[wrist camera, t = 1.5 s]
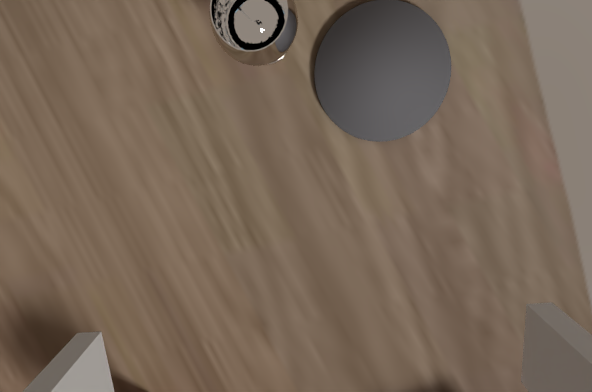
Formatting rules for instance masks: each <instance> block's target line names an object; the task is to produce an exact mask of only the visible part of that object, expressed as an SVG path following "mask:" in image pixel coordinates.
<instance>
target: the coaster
mask: <svg viewBox="0 0 592 392" xmlns="http://www.w3.org/2000/svg"><path fill="white" fill-rule="evenodd" d="M450 76H451V57H450V52H449V47H448V44H447V41H446V39H445V37H444V35H443V33H442V31H441V29H440V28H439V26H438V25H437V23H436V22H435V21H434V20H433V19H432V18H431V17H430V16H429V15H428V14H426V13H425V12H424V11H423V10H421V9H419V8H418V7H416V6H414V5H412V4H409V3H407V2H403V1H399V0H375V1H370V2H367V3H364V4H361V5H359V6H357V7H355V8H353V9H351V10H350V11H348V12H346V13H345V14H344V15H343V16H341V17H340V18H339V19H338V20H337V21H336V22H335V23H334V24H333V26H332V27H331V28H330V29H329V31H328V32H327V34H326V35H325V37H324V39H323V41H322V43H321V45H320V48H319V51H318V54H317V58H316V62H315V86H316V91H317V95H318V98H319V101H320V103H321V105H322V107H323V109H324V111H325V112H326V114H327V115H328V116H329V118H330V119H331V120H332V121H333V122H334V123H335V124H336V125H337V126H338V127H340V128H341V129H342V130H344V131H345V132H347V133H349V134H350V135H352V136H355V137H357V138H360V139H364V140H368V141H390V140H395V139H399V138H402V137H404V136H407V135H409V134H411V133H413V132H414V131H416V130H418V129H419V128H420V127H422V126H423V125H424V124H426V123H427V122H428V121H429V120H430V119H431V118H432V116H433V115H434V114H435V113H436V111H437V110H438V108H439V107H440V105H441V103H442V102H443V99H444V97H445V95H446V92H447V89H448V86H449V82H450Z"/></svg>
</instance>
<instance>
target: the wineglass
mask: <svg viewBox="0 0 592 392" xmlns="http://www.w3.org/2000/svg"><path fill="white" fill-rule="evenodd" d="M209 16H210V23H211V28H212V31H213V34H214V36H215V38H216V40H217V42H218V43H219V45H220V46H221V48H222V49H223V50H224V51H225V52H226V53H227V54H228V55H229V56H230V57H232V58H233V59H235V60H237V61H239V62H241V63H243V64H247V65H253V66H261V65H267V64H273V63H276V62H278V61H279V60H281V59H282V58H283V57H284V56H285V55H286V53H287V51H288V50H289V48H290V47H291V45H292V43H293V41H294V39H295V36H296V33H297V27H298V14H297V8H296V4H295V2H294V0H211V1H210V9H209Z"/></svg>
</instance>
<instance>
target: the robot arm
mask: <svg viewBox="0 0 592 392" xmlns="http://www.w3.org/2000/svg"><path fill="white" fill-rule="evenodd" d="M521 382H522V383H523V385H524V386H525V387H526V389H527V390H528V391H529V392H592V335H591V334H590V333H589V332H587V331H586V330H585V329H584V328H583V327H581V326H580V325H579V324H578V323H576V322H575V321H574V320H573V319H572V318H570V317H569V316H568V315H567V314H566V313H564V312H563V311H562V310H561V309H559V308H558V307H557V306H556V305H555V304H553V303H537V304H527V305H526V320H525V334H524V348H523V362H522V376H521ZM23 392H114V387H113V383H112V378H111V374H110V369H109V365H108V360H107V356H106V351H105V347H104V342H103V338H102V333H101V332H86V333H77V334H76V335H75V336H74V337H73V338H72V339H71V340H70V341H69V342H68V343H67V344H66V346H65V347H64V348H63V349H62V350H61V351H60V352H59V353H58V354H57V355H56V356H55V357H54V358H53V359H52V361H51V362H50V363H49V364H48V365H47V366H46V367H45V368H44V369H43V370H42V371H41V372H40V373H39V374H38V376H37V377H36V378H35V379H34V380H33V381H32V382H31V383H30V384H29V385H28V386H27V387H26V388H25V389H24V391H23Z"/></svg>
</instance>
